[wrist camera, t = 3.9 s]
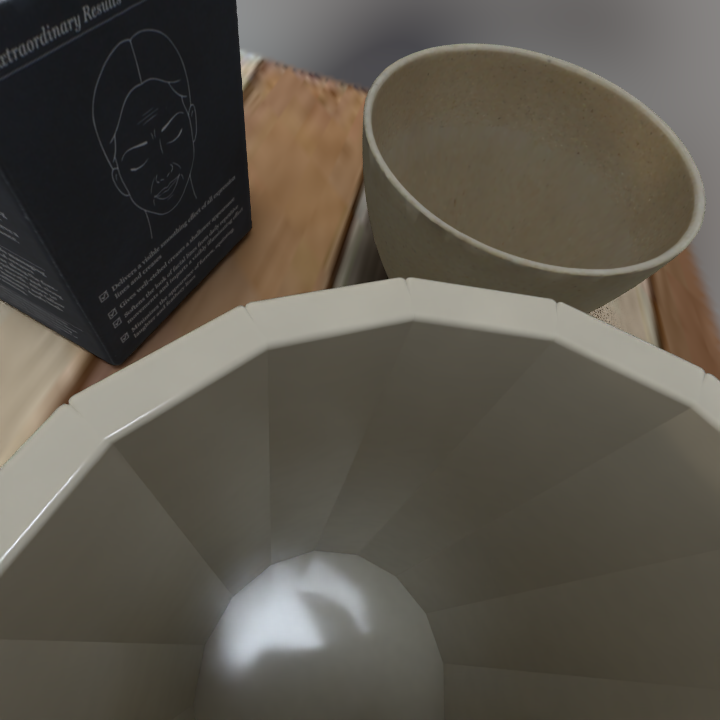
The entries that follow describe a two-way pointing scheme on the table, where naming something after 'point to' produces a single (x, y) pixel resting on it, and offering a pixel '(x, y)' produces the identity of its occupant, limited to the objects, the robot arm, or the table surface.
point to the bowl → (522, 176)
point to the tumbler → (371, 521)
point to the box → (117, 161)
